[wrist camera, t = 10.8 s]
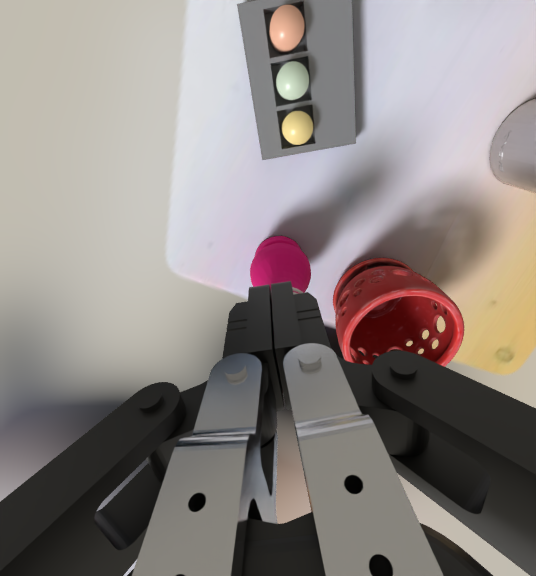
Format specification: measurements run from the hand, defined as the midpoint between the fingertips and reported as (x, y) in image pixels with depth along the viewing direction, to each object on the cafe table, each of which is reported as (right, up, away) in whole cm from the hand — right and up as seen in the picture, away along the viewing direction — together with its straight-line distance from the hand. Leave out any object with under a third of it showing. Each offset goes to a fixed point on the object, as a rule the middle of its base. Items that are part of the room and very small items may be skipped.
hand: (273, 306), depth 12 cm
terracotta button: (+1, +25, +19) cm, 31 cm away
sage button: (+2, +21, +21) cm, 30 cm away
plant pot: (+14, +1, +33) cm, 36 cm away
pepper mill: (+1, +5, +31) cm, 31 cm away
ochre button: (+3, +18, +23) cm, 29 cm away
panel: (+3, +22, +21) cm, 30 cm away
